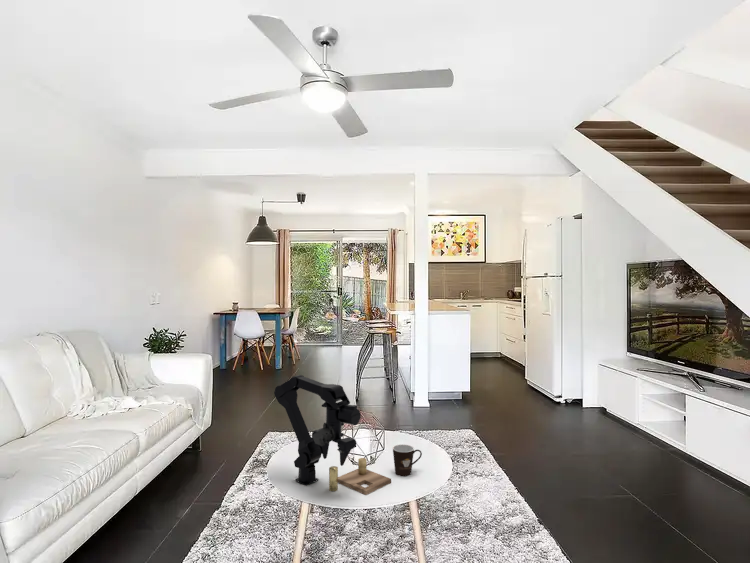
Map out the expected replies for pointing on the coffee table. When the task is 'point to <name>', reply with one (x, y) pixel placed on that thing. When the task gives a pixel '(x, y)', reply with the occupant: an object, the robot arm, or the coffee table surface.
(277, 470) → the coffee table surface
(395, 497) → the coffee table surface
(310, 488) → the coffee table surface
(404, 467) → the coffee mug
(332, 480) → the brass pin
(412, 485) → the coffee table surface
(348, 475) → the pin board
